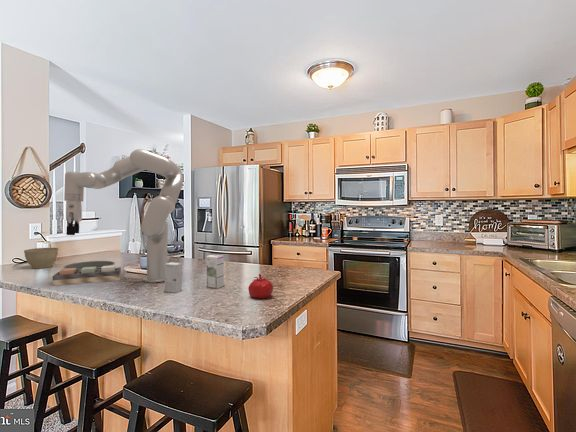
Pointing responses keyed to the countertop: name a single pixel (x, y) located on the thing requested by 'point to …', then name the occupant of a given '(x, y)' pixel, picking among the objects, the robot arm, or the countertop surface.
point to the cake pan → (89, 264)
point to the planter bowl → (41, 257)
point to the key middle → (88, 269)
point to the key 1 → (68, 271)
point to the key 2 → (108, 268)
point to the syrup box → (215, 271)
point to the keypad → (86, 277)
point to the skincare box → (173, 277)
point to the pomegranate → (260, 288)
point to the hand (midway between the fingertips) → (72, 234)
